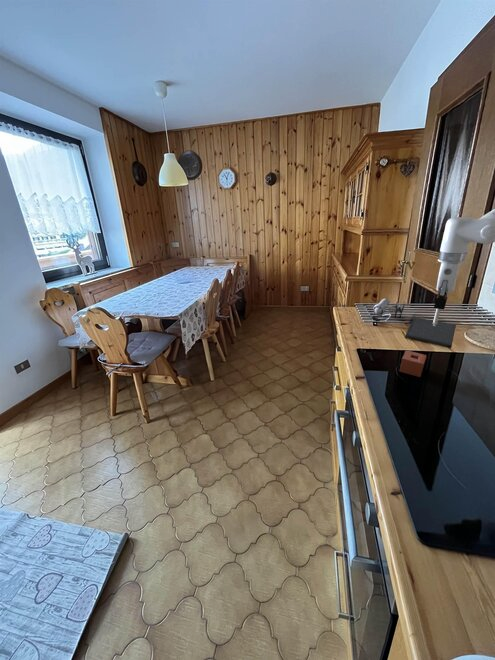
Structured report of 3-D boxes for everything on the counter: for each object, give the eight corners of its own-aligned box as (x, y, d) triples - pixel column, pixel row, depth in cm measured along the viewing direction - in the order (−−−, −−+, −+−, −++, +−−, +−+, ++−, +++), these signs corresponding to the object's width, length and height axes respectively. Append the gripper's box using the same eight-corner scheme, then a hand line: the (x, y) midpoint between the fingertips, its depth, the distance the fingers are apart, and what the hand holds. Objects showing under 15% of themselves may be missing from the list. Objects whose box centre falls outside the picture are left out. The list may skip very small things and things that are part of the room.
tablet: (457, 327, 116) (458, 324, 115) (453, 348, 102) (454, 345, 101) (413, 319, 125) (414, 316, 124) (404, 337, 111) (405, 335, 110)
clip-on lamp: (390, 332, 121) (406, 310, 131) (393, 320, 117) (409, 299, 127) (364, 322, 128) (380, 303, 137) (365, 311, 124) (382, 292, 133)
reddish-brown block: (423, 368, 92) (426, 355, 90) (420, 377, 88) (423, 364, 86) (403, 362, 96) (405, 350, 93) (399, 371, 91) (402, 358, 89)
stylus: (436, 325, 106) (445, 292, 101) (436, 326, 105) (444, 293, 100) (432, 324, 107) (440, 292, 101) (432, 326, 106) (440, 293, 100)
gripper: (464, 262, 87) (449, 317, 95) (466, 252, 98) (453, 302, 106) (435, 261, 91) (424, 313, 100) (441, 251, 102) (430, 299, 110)
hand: (439, 307), depth 103 cm, fingers closed on stylus, 1 cm apart
